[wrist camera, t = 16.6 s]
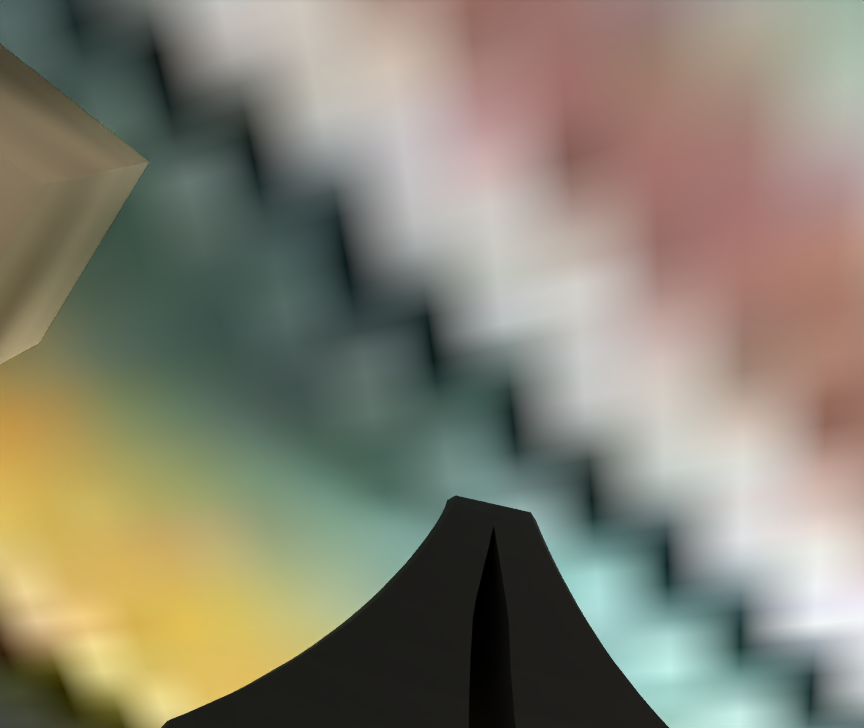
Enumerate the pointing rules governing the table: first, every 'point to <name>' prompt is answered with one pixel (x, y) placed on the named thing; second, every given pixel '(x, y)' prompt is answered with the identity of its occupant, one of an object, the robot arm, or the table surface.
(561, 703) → the robot arm
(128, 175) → the beige toy brick
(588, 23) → the table surface
